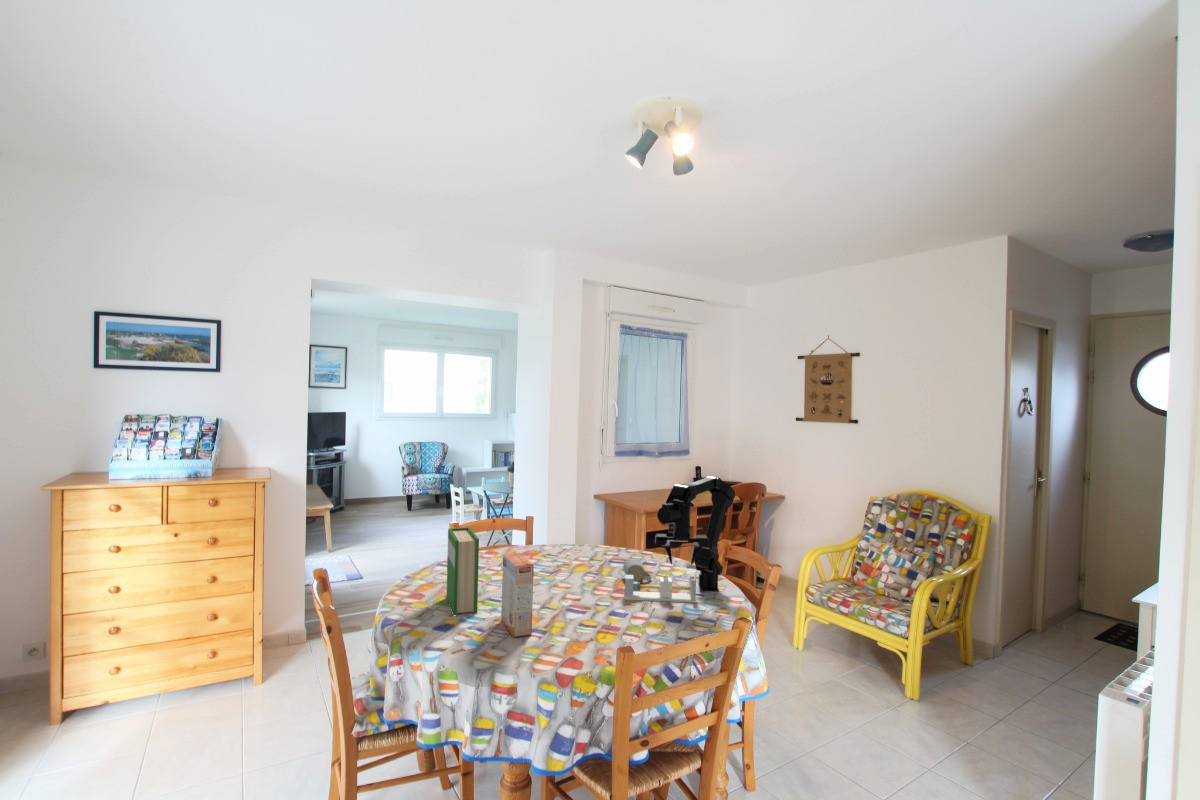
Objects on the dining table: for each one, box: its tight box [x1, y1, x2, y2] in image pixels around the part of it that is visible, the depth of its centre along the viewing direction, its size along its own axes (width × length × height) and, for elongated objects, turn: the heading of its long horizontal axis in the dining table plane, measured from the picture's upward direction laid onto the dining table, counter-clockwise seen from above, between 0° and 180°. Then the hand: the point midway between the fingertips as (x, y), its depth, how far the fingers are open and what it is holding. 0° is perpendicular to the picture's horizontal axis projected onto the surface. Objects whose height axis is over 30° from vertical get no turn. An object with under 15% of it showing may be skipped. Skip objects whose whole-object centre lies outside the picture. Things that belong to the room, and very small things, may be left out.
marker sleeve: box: [658, 576, 673, 597], centre depth 192 cm, size 4×5×6 cm
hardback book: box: [446, 526, 480, 616], centre depth 181 cm, size 18×7×24 cm, turn 23°
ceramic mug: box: [622, 557, 653, 582], centre depth 211 cm, size 11×8×8 cm
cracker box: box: [500, 552, 535, 638], centre depth 164 cm, size 14×6×21 cm, turn 25°
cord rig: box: [624, 574, 697, 603], centre depth 192 cm, size 25×7×7 cm, turn 87°
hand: (681, 564), depth 192 cm, fingers open, 7 cm apart
